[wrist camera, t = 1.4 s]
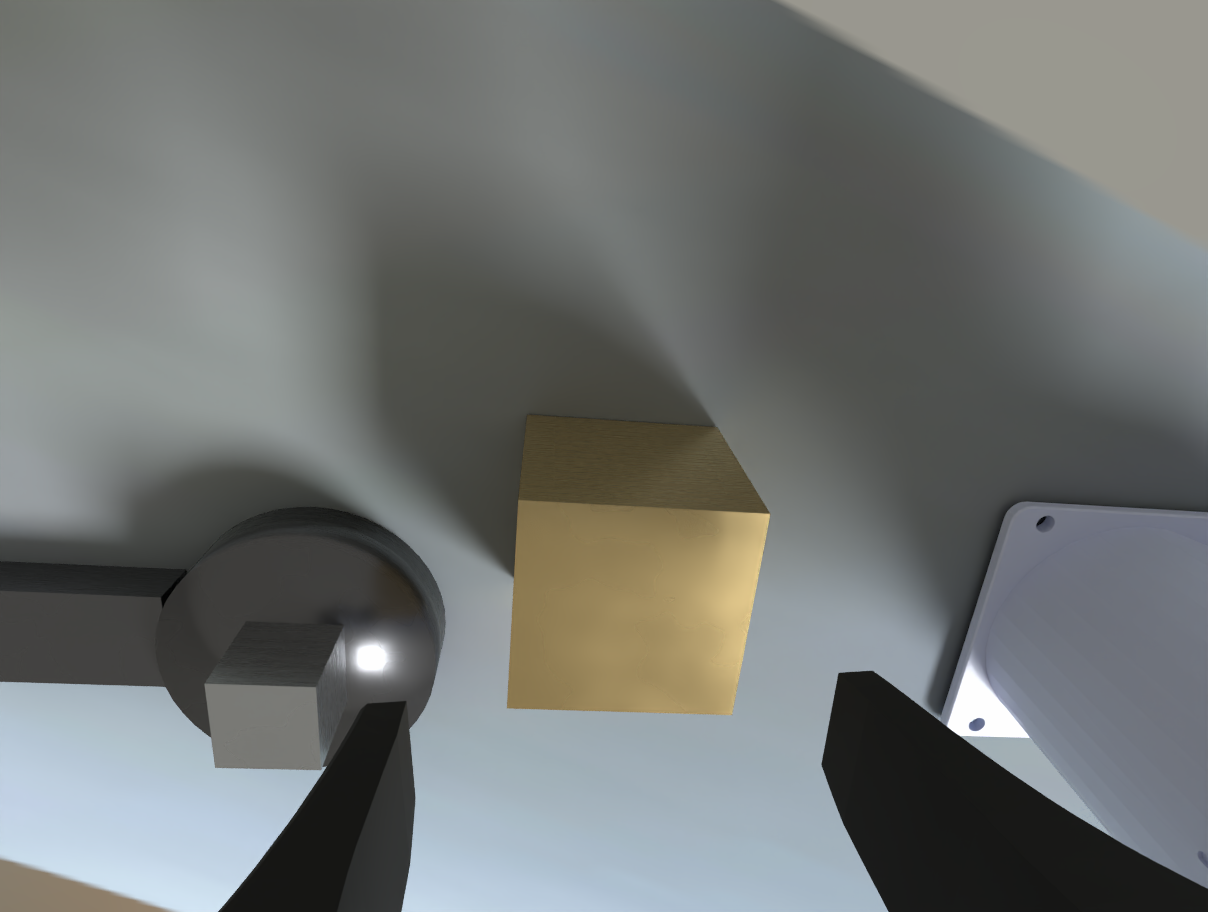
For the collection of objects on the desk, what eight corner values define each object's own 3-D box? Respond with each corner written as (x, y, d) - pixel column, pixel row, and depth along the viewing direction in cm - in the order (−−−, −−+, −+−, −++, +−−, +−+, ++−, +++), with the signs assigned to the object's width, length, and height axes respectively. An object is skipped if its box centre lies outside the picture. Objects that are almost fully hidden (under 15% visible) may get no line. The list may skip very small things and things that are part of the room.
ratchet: (447, 513, 20) (420, 603, 16) (444, 720, 23) (419, 843, 19) (-332, 472, 18) (-584, 561, 14) (-241, 701, 21) (-433, 832, 17)
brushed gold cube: (717, 427, 20) (770, 514, 15) (691, 590, 21) (731, 715, 17) (526, 414, 19) (518, 500, 14) (517, 582, 21) (506, 708, 16)
